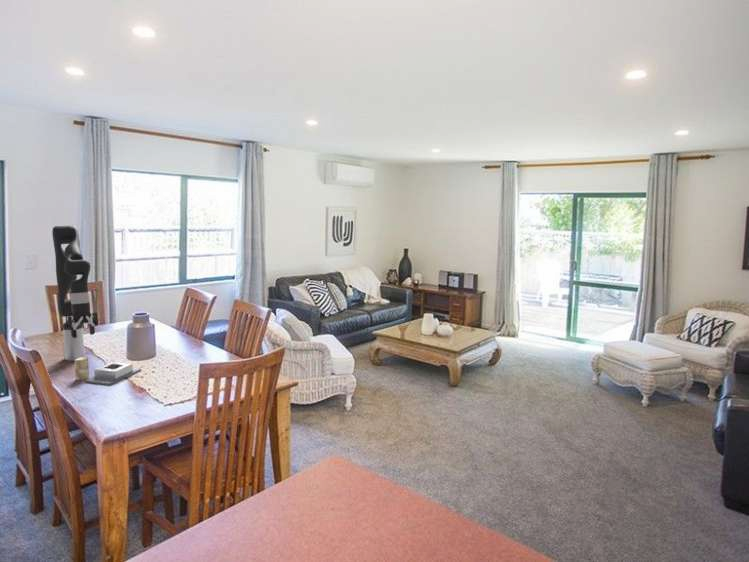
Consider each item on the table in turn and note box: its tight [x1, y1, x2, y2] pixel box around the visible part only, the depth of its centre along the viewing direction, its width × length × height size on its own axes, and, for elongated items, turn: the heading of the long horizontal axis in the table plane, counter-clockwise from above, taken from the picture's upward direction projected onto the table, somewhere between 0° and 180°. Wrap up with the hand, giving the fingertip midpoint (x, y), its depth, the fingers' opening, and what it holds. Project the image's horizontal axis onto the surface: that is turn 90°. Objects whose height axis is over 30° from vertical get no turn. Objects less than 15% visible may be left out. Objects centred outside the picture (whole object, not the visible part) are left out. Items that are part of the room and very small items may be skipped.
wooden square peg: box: [74, 357, 90, 381], centre depth 243 cm, size 4×4×10 cm
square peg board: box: [84, 361, 142, 386], centre depth 248 cm, size 14×22×5 cm, turn 168°
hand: (83, 336), depth 235 cm, fingers open, 8 cm apart
